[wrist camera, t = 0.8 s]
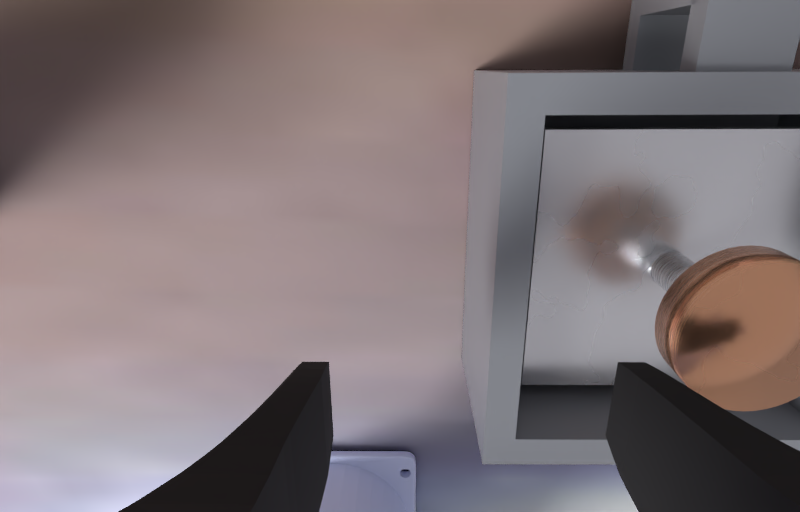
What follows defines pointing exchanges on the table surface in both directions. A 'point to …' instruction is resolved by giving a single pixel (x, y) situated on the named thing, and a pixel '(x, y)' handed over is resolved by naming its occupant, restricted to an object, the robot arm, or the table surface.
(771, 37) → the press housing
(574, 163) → the plunger
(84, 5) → the table surface
